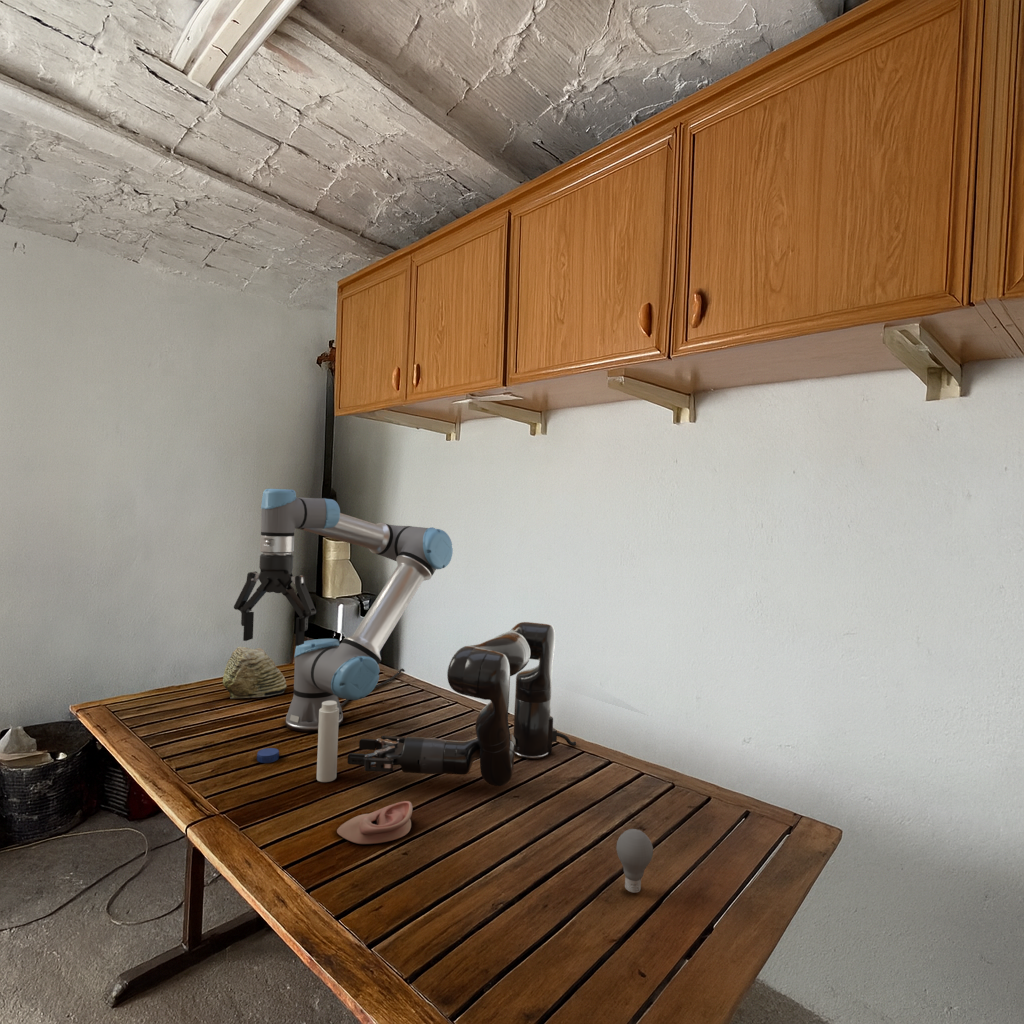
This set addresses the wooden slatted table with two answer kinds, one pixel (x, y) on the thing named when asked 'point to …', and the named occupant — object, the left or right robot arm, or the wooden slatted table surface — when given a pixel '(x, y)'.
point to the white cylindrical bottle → (327, 741)
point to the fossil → (252, 674)
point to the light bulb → (634, 857)
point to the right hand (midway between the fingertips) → (354, 751)
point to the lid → (268, 755)
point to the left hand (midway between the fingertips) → (273, 642)
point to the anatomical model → (379, 825)
